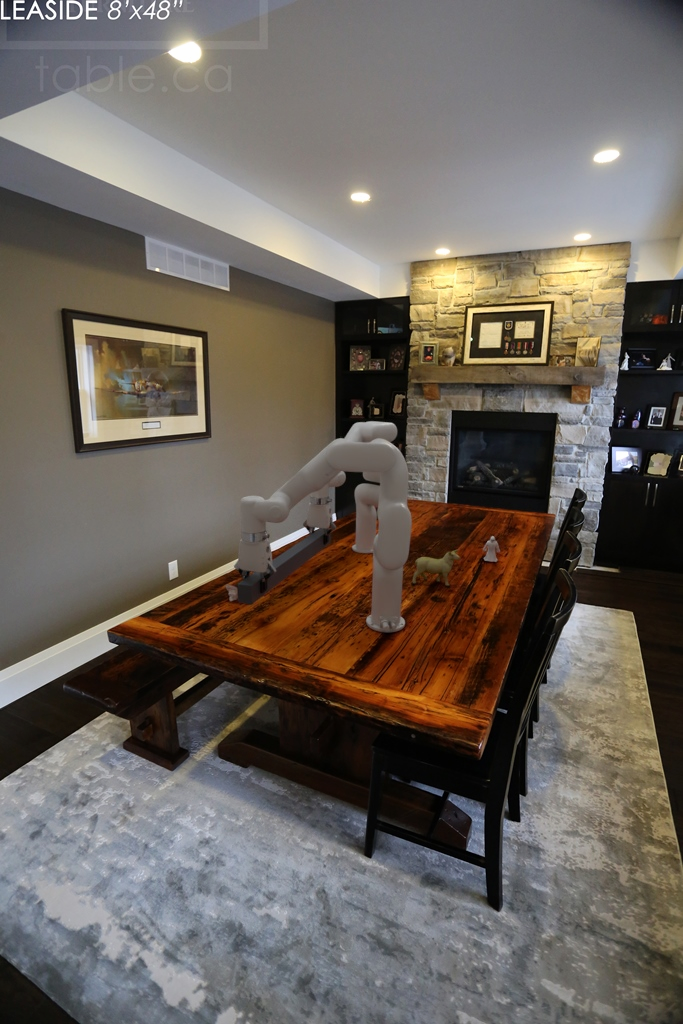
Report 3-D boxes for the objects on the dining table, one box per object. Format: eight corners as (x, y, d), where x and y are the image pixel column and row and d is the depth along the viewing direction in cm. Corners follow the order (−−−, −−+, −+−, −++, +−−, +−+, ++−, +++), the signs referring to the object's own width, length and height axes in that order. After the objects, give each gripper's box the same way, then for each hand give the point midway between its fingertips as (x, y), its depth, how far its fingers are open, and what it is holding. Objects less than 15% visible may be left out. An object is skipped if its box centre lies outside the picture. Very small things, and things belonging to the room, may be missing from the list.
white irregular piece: (231, 609, 179) (216, 592, 179) (241, 599, 183) (227, 583, 182) (239, 604, 173) (224, 587, 172) (250, 595, 177) (235, 577, 176)
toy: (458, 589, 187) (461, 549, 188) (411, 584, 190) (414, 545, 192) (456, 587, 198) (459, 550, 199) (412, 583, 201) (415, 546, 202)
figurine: (481, 562, 222) (483, 536, 219) (482, 556, 230) (484, 531, 227) (499, 564, 220) (501, 538, 217) (499, 558, 228) (501, 533, 225)
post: (251, 604, 153) (251, 586, 151) (237, 602, 154) (237, 583, 153) (330, 542, 215) (330, 529, 213) (320, 541, 216) (320, 527, 215)
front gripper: (284, 535, 156) (285, 590, 160) (236, 529, 161) (238, 582, 166) (272, 542, 149) (274, 599, 153) (223, 536, 154) (226, 591, 159)
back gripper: (342, 500, 205) (341, 542, 209) (304, 496, 210) (304, 538, 215) (335, 504, 198) (335, 548, 202) (296, 500, 203) (297, 543, 208)
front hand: (255, 589), depth 159 cm, fingers closed on post, 4 cm apart
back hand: (319, 542), depth 209 cm, fingers closed on post, 5 cm apart
